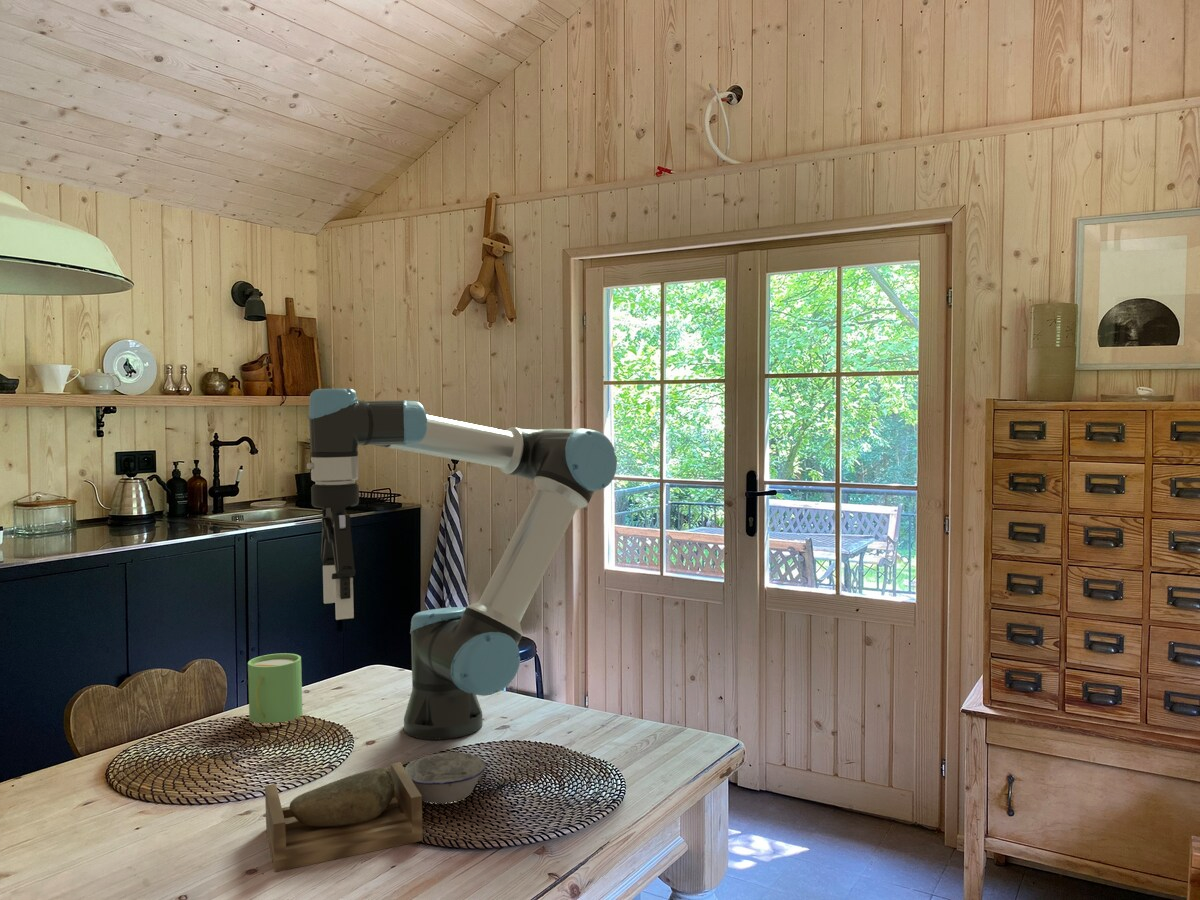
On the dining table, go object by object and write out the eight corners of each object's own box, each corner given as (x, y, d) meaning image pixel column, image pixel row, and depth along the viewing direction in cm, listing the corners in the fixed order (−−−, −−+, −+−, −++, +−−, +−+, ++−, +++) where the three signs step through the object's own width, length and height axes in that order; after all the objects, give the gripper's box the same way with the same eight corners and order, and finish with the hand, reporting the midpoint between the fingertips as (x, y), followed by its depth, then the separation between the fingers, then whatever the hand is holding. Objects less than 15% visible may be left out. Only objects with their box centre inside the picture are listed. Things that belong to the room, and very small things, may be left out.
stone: (411, 810, 130) (376, 758, 128) (323, 871, 127) (285, 819, 124) (401, 783, 138) (368, 733, 136) (318, 839, 135) (282, 789, 132)
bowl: (431, 820, 135) (430, 788, 135) (389, 794, 145) (388, 765, 145) (501, 795, 144) (501, 765, 144) (458, 772, 154) (457, 744, 153)
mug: (263, 709, 188) (262, 652, 187) (311, 711, 186) (309, 653, 186) (231, 730, 175) (229, 670, 175) (281, 732, 174) (279, 671, 173)
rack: (401, 802, 142) (400, 762, 141) (422, 840, 129) (421, 795, 129) (266, 828, 133) (264, 785, 133) (274, 872, 120) (273, 824, 120)
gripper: (302, 478, 158) (305, 598, 159) (321, 488, 135) (325, 628, 136) (346, 477, 161) (348, 594, 162) (372, 486, 139) (375, 623, 139)
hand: (338, 610), depth 149 cm, fingers open, 13 cm apart
